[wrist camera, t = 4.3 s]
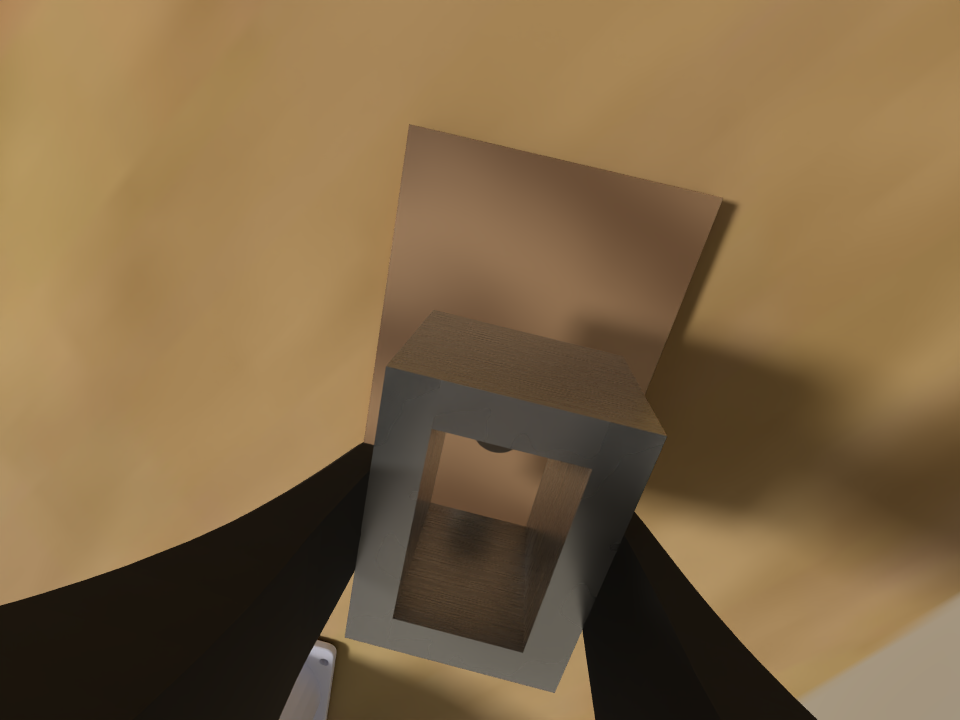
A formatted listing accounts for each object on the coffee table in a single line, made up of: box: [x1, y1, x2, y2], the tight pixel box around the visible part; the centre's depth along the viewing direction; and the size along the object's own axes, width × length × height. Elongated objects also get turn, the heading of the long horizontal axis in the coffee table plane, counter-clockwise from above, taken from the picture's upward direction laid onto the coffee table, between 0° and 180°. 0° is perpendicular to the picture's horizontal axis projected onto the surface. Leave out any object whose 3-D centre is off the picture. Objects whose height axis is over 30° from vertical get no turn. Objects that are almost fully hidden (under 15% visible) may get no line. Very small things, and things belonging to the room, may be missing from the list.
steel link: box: [345, 310, 667, 693], centre depth 11 cm, size 7×5×4 cm
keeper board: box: [364, 124, 723, 527], centre depth 16 cm, size 16×10×4 cm, turn 168°
